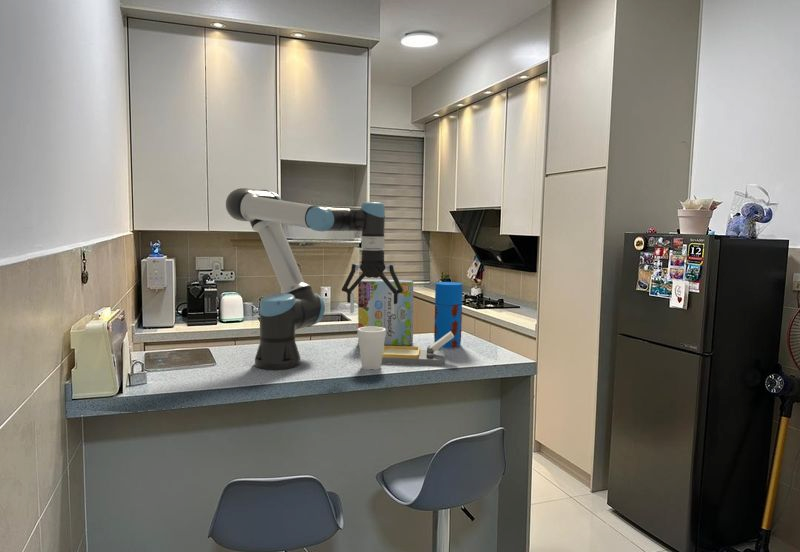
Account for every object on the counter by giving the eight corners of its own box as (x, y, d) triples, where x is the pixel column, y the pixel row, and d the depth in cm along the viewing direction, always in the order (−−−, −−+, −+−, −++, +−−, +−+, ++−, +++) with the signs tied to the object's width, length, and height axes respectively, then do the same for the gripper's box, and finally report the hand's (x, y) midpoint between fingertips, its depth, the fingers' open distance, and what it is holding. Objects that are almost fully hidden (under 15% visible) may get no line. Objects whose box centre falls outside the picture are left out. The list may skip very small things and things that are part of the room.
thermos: (430, 342, 221) (431, 282, 218) (454, 341, 224) (456, 281, 221) (440, 348, 210) (441, 285, 208) (465, 347, 213) (467, 284, 211)
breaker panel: (369, 362, 187) (369, 353, 187) (374, 353, 201) (374, 344, 201) (444, 365, 185) (444, 356, 185) (443, 355, 199) (444, 347, 199)
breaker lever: (425, 351, 190) (450, 332, 189) (425, 348, 195) (450, 330, 194) (429, 356, 190) (454, 338, 189) (429, 353, 195) (454, 335, 194)
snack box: (413, 342, 222) (414, 279, 219) (410, 346, 213) (412, 282, 210) (361, 339, 225) (362, 278, 222) (357, 344, 216) (357, 280, 214)
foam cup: (381, 371, 176) (381, 332, 175) (354, 369, 178) (354, 331, 177) (387, 364, 185) (388, 327, 184) (361, 362, 187) (362, 325, 186)
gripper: (333, 249, 175) (333, 313, 177) (410, 250, 173) (408, 316, 175) (337, 248, 182) (337, 310, 184) (411, 249, 181) (410, 312, 183)
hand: (372, 313), depth 180 cm, fingers open, 13 cm apart
